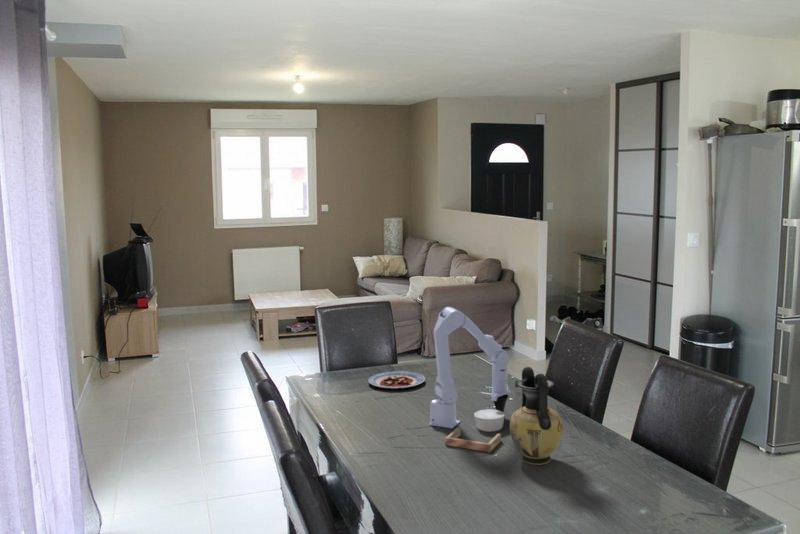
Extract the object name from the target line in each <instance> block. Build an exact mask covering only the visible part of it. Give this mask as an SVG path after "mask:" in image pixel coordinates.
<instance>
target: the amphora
mask: <svg viewBox="0 0 800 534" xmlns="http://www.w3.org/2000/svg"><path fill="white" fill-rule="evenodd" d="M517 385H518V386H519V387H520V388H522V408H520V409H518V410H516V411H515V410H514V412H513V413H512V415H511V417H510V421H509V433H510V436H511V439H512V443H513V445H514V446H515V448H516V449H517V451H519V452H520V453H521V454H522V461H523V462H525V463H527V464H529V465H535V466H537V465H538V466H540V465H541V466H542V465H546V464H549V463H550V462H551V460H552V457H551V455H552V454H553V453H554V452H555V451H556V450H557V448H558V447H559V446H560V443H561V440H562V437H563V431H564V429H563V428H564V427H563V420H562V418H561V416H560V414H559V413H558V412H557V411H556V410H554V409H553V408H551V407H549V406H548V398H549V397H548V395H549V394H548V393H549V391H550V389H551V388H553V387H554V385H555V383H554V382H553V381H551V380H550V379H549V380H548V379H547V377H546V376H545V374H544V373H537V374H536V375H535V372H534V370H533V368H532V367H531V366H527V367H524V368H523V369H522V372H521V380H519V382H518V383H517Z"/></svg>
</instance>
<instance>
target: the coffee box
mask: <svg viewBox="0 0 800 534" xmlns="http://www.w3.org/2000/svg"><path fill="white" fill-rule="evenodd" d="M519 381H520V380H518V379H517V380H515V383H514V385H515V386H514V412H515V411H516V410H518V409H520V408H522V388H520V387H519V386H518V385H517V383H518V382H519Z"/></svg>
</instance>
